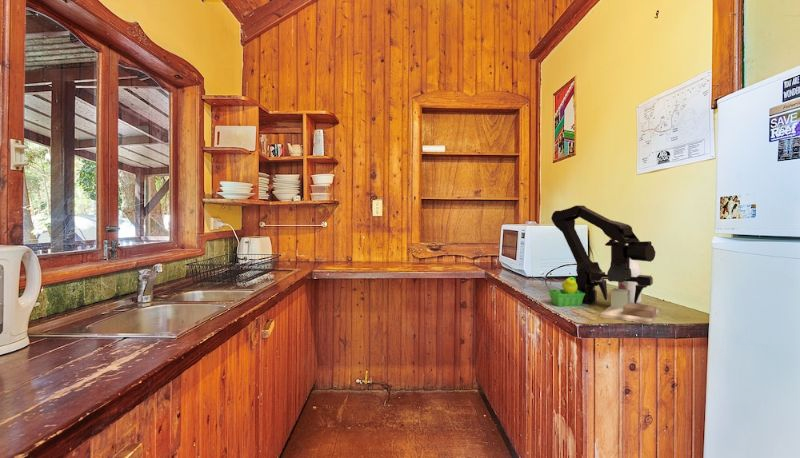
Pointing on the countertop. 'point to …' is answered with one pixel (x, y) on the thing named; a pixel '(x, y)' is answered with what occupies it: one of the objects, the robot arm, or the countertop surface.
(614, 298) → the top block
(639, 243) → the robot arm
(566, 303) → the fruit basket
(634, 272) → the milk bottle
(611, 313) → the board
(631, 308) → the base block
